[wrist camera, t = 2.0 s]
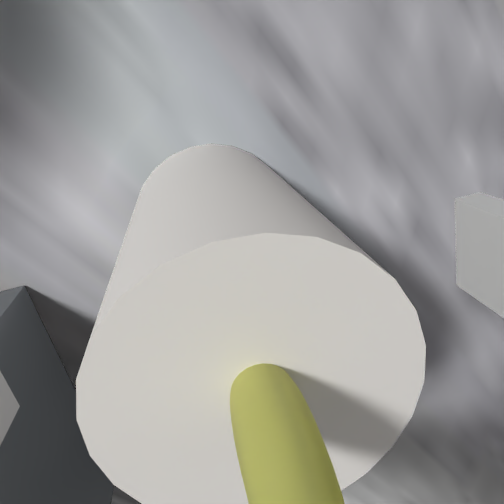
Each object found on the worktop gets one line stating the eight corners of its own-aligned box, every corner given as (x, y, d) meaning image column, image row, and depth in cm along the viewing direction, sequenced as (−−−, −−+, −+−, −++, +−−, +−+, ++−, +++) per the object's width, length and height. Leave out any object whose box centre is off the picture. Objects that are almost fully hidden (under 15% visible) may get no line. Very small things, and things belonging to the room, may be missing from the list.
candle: (193, 320, 19) (238, 984, 5) (101, 198, 16) (-365, 888, 2) (316, 247, 18) (735, 739, 5) (241, 111, 16) (704, 299, 2)
